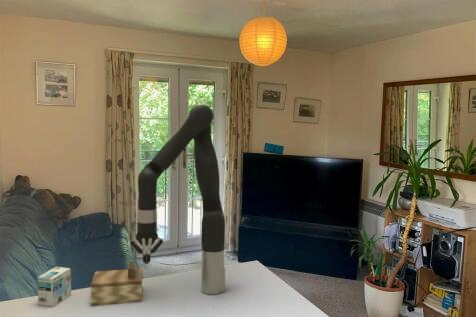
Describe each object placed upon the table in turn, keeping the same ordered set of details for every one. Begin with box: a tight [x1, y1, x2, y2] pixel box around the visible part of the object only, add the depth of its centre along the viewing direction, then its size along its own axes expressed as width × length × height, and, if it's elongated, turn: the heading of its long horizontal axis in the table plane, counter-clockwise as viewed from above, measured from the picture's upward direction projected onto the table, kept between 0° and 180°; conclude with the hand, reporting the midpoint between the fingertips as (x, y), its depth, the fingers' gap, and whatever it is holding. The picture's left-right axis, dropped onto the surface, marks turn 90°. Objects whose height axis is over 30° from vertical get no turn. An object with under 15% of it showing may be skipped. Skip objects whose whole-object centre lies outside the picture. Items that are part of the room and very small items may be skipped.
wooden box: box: [90, 282, 143, 307], centre depth 144 cm, size 18×12×7 cm, turn 103°
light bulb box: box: [37, 266, 72, 307], centre depth 141 cm, size 11×7×11 cm, turn 168°
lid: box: [90, 260, 143, 288], centre depth 143 cm, size 18×12×5 cm, turn 103°
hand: (146, 263), depth 146 cm, fingers closed
